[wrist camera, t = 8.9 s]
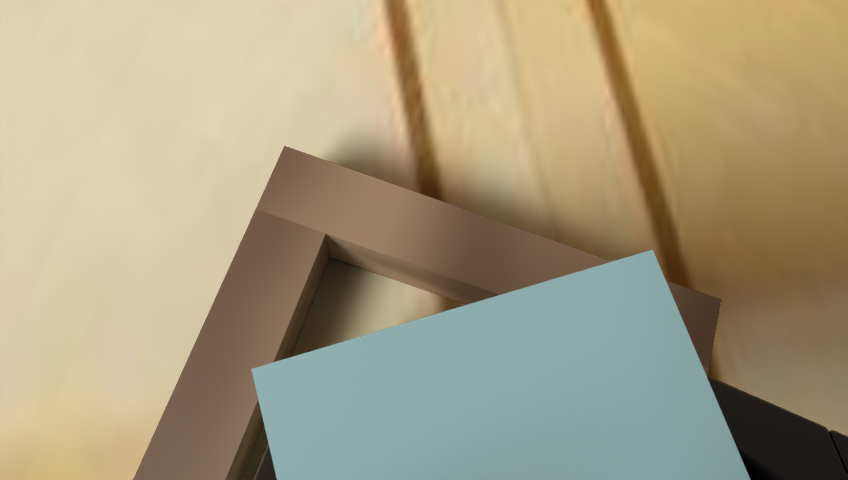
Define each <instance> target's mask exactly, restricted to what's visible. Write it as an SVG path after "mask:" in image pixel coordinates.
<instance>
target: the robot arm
mask: <svg viewBox="0 0 848 480" xmlns="http://www.w3.org/2000/svg"><path fill="white" fill-rule="evenodd" d="M706 376H707V375H706ZM707 378H708V381H709V383H710V386H711V388H712V390H713V393H714V395H715V397H716V400H717V402H718V404H719V407H720V409H721V411H722V414H723V416H724V418H725V421H726V423H727V426H728V428H729V430H730V433H731V435H732V437H733V440H734V442H735V444H736V447H737V449H738V451H739V454H740V456H741V459H742V461H743V463H744V466H745V468H746V470H747V473H748V475H749V477H750V480H848V436H845V435H843V434H841V433H838V432H836V431H834V430H831V431H828V429H827V428H826V427H824V426H822V425H820V424H817V423H815V422H813V421H810V420H808V419H806V418H804V417H801V416H799V415H797V414H794V413H792V412H790V411H787V410H785V409H783V408H781V407H778V406H776V405H774V404H771V403H769V402H767V401H764V400H762V399H760V398H758V397H755V396H753V395H751V394H748V393H746V392H744V391H741V390H739V389H737V388H735V387H732V386H730V385H728V384H725V383H723V382H721V381H718V380H716V379H714V378H712V377H709V376H707ZM254 480H277V478H276V473H275V469H274V465H273V461H272V456H271V452H270V448H269V443H268V445H267V448H266V450H265V453H264V455H263V457H262V460H261V462H260V465H259V467H258V470H257V472H256V475H255V477H254Z"/></svg>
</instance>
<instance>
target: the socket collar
mask: <svg viewBox="0 0 848 480" xmlns="http://www.w3.org/2000/svg"><path fill="white" fill-rule="evenodd" d="M330 257H332V258H335V259H338V260H340V261H343V262H346V263H349V264H352V265H355V266H357V267H360V268H363V269H366V270H369V271H372V272H375V273H377V274H380V275H383V276H386V277H389V278H392V279H394V280H397V281H400V282H403V283H406V284H409V285H411V286H414V287H417V288H420V289H423V290H426V291H429V292H431V293H434V294H437V295H440V296H443V297H446V298H448V299H451V300H454V301H457V302H460V303H463V304H465V305H468V304H471V303H475V302H478V301H481V300H485V299H488V298H492V297H495V296H498V295H502V294H505V293H508V292H512V291H515V290H518V289H522V288H525V287H528V286H532V285H535V284H539V283H542V282H545V281H549V280H552V279H555V278H559V277H562V276H565V275H569V274H572V273H576V272H579V271H582V270H586V269H589V268H592V267H596V266H599V265H602V264H606V263H609V262H612V261H610V260H607V259H604V258H601V257H599V256H596V255H593V254H590V253H587V252H584V251H582V250H579V249H576V248H573V247H570V246H567V245H564V244H562V243H559V242H556V241H553V240H550V239H547V238H545V237H542V236H539V235H536V234H533V233H530V232H528V231H525V230H522V229H519V228H516V227H513V226H511V225H508V224H505V223H502V222H499V221H496V220H494V219H491V218H488V217H485V216H482V215H479V214H476V213H474V212H471V211H468V210H465V209H462V208H459V207H457V206H454V205H451V204H448V203H445V202H442V201H440V200H437V199H434V198H431V197H428V196H425V195H423V194H420V193H417V192H414V191H411V190H408V189H406V188H403V187H400V186H397V185H394V184H391V183H388V182H386V181H383V180H380V179H377V178H374V177H371V176H369V175H366V174H363V173H360V172H357V171H354V170H352V169H349V168H346V167H343V166H340V165H337V164H335V163H332V162H329V161H326V160H323V159H320V158H318V157H315V156H312V155H309V154H306V153H303V152H300V151H298V150H295V149H292V148H289V147H286V146H284V148H283V150H282V153H281V155H280V157H279V159H278V161H277V164H276V166H275V168H274V170H273V172H272V175H271V177H270V179H269V181H268V183H267V186H266V188H265V190H264V192H263V194H262V197H261V199H260V201H259V203H258V206H257V208H256V210H255V212H254V214H253V217H252V219H251V221H250V223H249V225H248V228H247V230H246V232H245V234H244V236H243V239H242V241H241V243H240V245H239V247H238V250H237V252H236V254H235V256H234V258H233V261H232V263H231V265H230V267H229V269H228V272H227V274H226V276H225V278H224V281H223V283H222V285H221V287H220V289H219V292H218V294H217V296H216V298H215V300H214V303H213V305H212V307H211V309H210V311H209V314H208V316H207V318H206V320H205V322H204V325H203V327H202V329H201V331H200V333H199V336H198V338H197V340H196V342H195V344H194V347H193V349H192V351H191V353H190V356H189V358H188V360H187V362H186V364H185V367H184V369H183V371H182V373H181V375H180V378H179V380H178V382H177V384H176V386H175V389H174V391H173V393H172V395H171V397H170V400H169V402H168V404H167V406H166V408H165V411H164V413H163V415H162V417H161V419H160V422H159V424H158V426H157V428H156V431H155V433H154V435H153V437H152V439H151V442H150V444H149V446H148V448H147V450H146V453H145V455H144V457H143V459H142V461H141V464H140V466H139V468H138V470H137V472H136V475H135V477H134V479H133V480H241V479H242V476H243V474H244V471H245V469H246V466H247V464H248V461H249V459H250V456H251V454H252V451H253V449H254V446H255V444H256V441H257V439H258V436H259V434H260V431H261V429H262V426H263V424H264V422H263V417H262V413H261V409H260V404H259V400H258V396H257V391H256V387H255V383H254V379H253V374H252V370H251V369H253V368H256V367H260V366H263V365H266V364H270V363H273V362H276V361H280V360H283V359H287V358H290V356H291V354H292V351H293V349H294V346H295V344H296V341H297V339H298V336H299V334H300V331H301V329H302V326H303V324H304V321H305V319H306V316H307V314H308V311H309V309H310V306H311V304H312V301H313V299H314V296H315V294H316V291H317V289H318V286H319V284H320V281H321V279H322V276H323V274H324V271H325V269H326V266H327V264H328V261H329V259H330ZM666 282H667V284H668V287H669V289H670V291H671V294H672V296H673V298H674V301H675V303H676V305H677V308H678V310H679V313H680V315H681V317H682V320H683V322H684V324H685V327H686V329H687V331H688V334H689V336H690V338H691V341H692V343H693V346H694V348H695V350H696V353H697V355H698V357H699V360H700V362H701V364H702V367H703V369H704V371H705V374H706V375H708V369H709V364H710V358H711V353H712V347H713V342H714V336H715V330H716V325H717V319H718V314H719V308H720V302H721V299H718V298H715V297H712V296H709V295H706V294H704V293H701V292H698V291H695V290H692V289H689V288H687V287H684V286H681V285H678V284H675V283H672V282H670V281H667V280H666Z"/></svg>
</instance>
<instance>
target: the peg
mask: <svg viewBox="0 0 848 480" xmlns="http://www.w3.org/2000/svg"><path fill="white" fill-rule="evenodd" d="M251 370H252V374H253V379H254V383H255V387H256V391H257V396H258V400H259V404H260V409H261V413H262V417H263V422H264V426H265V430H266V435H267V439H268V443H269V448H270V452H271V456H272V461H273V465H274V469H275V473H276V478H277V480H750V477H749V475H748V473H747V470H746V468H745V466H744V463H743V461H742V459H741V456H740V454H739V451H738V449H737V447H736V444H735V442H734V440H733V437H732V435H731V433H730V430H729V428H728V426H727V423H726V421H725V418H724V416H723V414H722V411H721V409H720V407H719V404H718V402H717V400H716V397H715V395H714V393H713V390H712V388H711V386H710V383H709V381H708V378H707V376H706V374H705V371H704V369H703V367H702V364H701V362H700V360H699V357H698V355H697V353H696V350H695V348H694V346H693V343H692V341H691V338H690V336H689V334H688V331H687V329H686V327H685V324H684V322H683V320H682V317H681V315H680V313H679V310H678V308H677V305H676V303H675V301H674V298H673V296H672V294H671V291H670V289H669V287H668V284H667V282H666V280H665V277H664V275H663V273H662V270H661V268H660V265H659V263H658V261H657V258H656V256H655V254H654V251H653V250H649V251H646V252H643V253H639V254H636V255H633V256H629V257H626V258H623V259H619V260H616V261H612V262H609V263H606V264H602V265H599V266H596V267H592V268H589V269H586V270H582V271H579V272H576V273H572V274H569V275H565V276H562V277H559V278H555V279H552V280H549V281H545V282H542V283H539V284H535V285H532V286H528V287H525V288H522V289H518V290H515V291H512V292H508V293H505V294H502V295H498V296H495V297H492V298H488V299H485V300H481V301H478V302H475V303H471V304H468V305H465V306H461V307H458V308H455V309H451V310H448V311H444V312H441V313H438V314H434V315H431V316H428V317H424V318H421V319H418V320H414V321H411V322H407V323H404V324H401V325H397V326H394V327H391V328H387V329H384V330H381V331H377V332H374V333H371V334H367V335H364V336H360V337H357V338H354V339H350V340H347V341H344V342H340V343H337V344H334V345H330V346H327V347H323V348H320V349H317V350H313V351H310V352H307V353H303V354H300V355H297V356H293V357H290V358H287V359H283V360H280V361H276V362H273V363H270V364H266V365H263V366H260V367H256V368H253V369H251Z"/></svg>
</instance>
